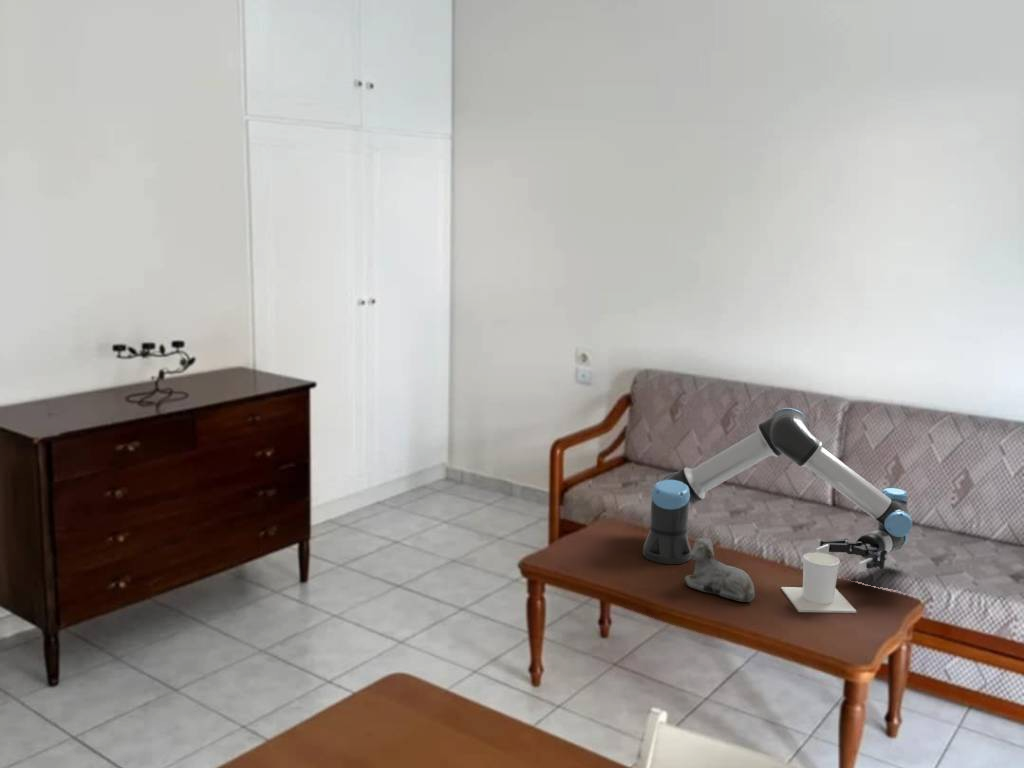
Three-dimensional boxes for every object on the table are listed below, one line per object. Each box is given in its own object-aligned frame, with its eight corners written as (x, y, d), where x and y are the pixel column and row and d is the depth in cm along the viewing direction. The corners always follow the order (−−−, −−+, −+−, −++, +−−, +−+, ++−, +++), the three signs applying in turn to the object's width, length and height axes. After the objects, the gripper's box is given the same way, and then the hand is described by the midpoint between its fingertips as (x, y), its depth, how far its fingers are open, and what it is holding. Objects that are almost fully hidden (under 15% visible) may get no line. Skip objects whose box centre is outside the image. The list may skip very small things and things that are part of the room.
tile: (781, 588, 274) (781, 586, 274) (835, 589, 275) (835, 588, 274) (799, 611, 258) (799, 609, 258) (856, 613, 259) (856, 610, 259)
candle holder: (799, 589, 272) (803, 550, 270) (835, 594, 270) (839, 554, 268) (799, 602, 263) (803, 562, 261) (836, 607, 260) (840, 566, 258)
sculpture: (687, 579, 279) (690, 531, 276) (759, 593, 271) (763, 544, 268) (677, 592, 269) (681, 543, 267) (751, 607, 261) (756, 556, 258)
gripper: (912, 569, 276) (876, 586, 262) (835, 545, 294) (797, 559, 280) (915, 545, 274) (879, 560, 260) (837, 522, 293) (800, 535, 279)
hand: (837, 560), depth 270 cm, fingers open, 13 cm apart
